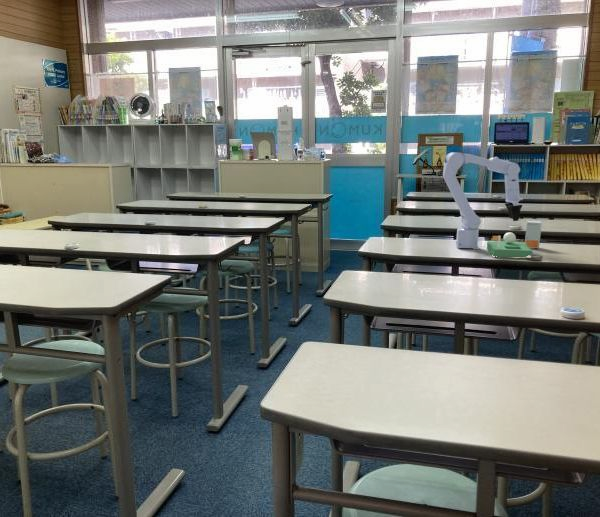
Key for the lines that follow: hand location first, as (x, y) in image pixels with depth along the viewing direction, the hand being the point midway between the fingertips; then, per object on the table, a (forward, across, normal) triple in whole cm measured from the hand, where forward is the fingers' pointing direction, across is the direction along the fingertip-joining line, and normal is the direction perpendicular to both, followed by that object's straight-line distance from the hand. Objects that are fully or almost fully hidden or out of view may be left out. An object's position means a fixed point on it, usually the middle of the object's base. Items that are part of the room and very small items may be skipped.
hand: (514, 219), depth 242 cm
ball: (+6, -9, +4) cm, 12 cm away
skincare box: (+15, +2, -7) cm, 16 cm away
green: (+12, -14, +6) cm, 19 cm away
